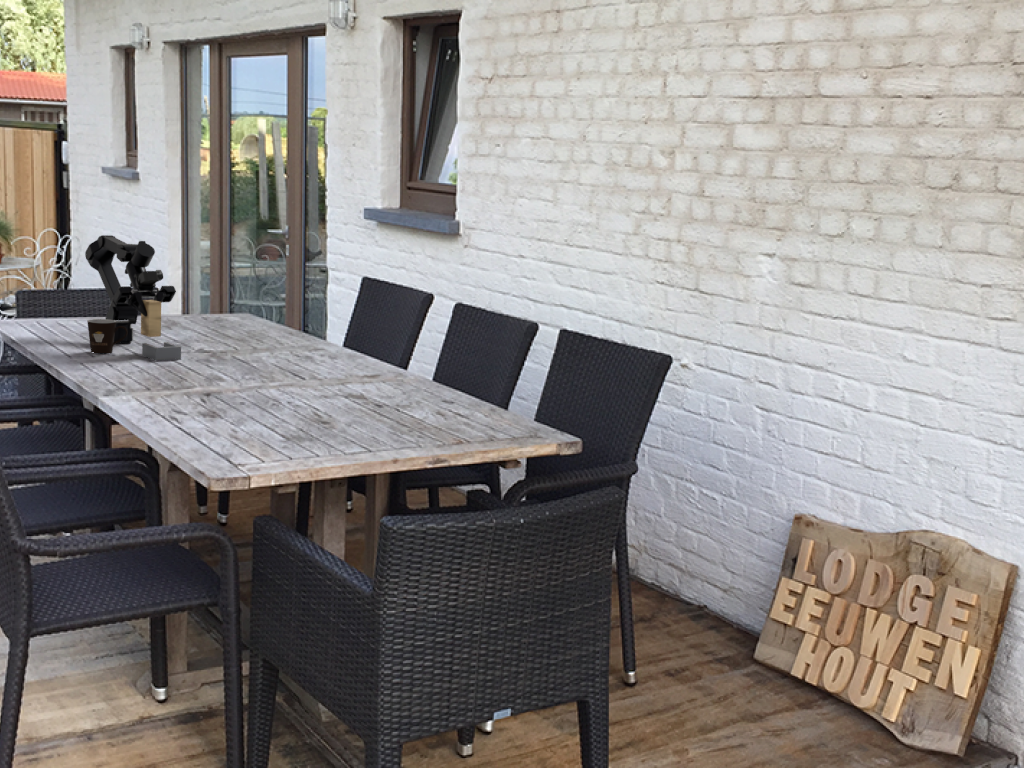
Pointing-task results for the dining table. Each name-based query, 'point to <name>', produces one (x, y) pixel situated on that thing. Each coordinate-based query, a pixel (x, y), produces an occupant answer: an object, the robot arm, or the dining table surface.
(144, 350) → the end cap
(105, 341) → the coffee mug
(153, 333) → the block
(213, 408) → the dining table surface
